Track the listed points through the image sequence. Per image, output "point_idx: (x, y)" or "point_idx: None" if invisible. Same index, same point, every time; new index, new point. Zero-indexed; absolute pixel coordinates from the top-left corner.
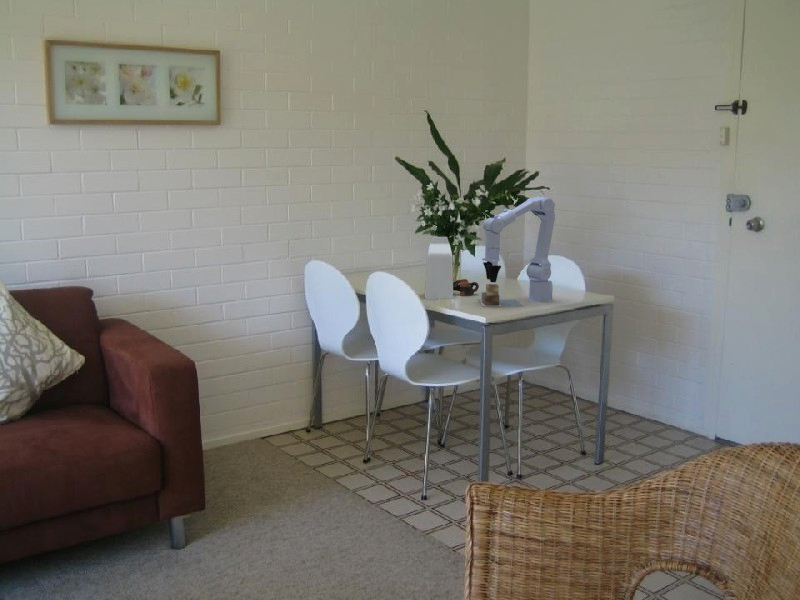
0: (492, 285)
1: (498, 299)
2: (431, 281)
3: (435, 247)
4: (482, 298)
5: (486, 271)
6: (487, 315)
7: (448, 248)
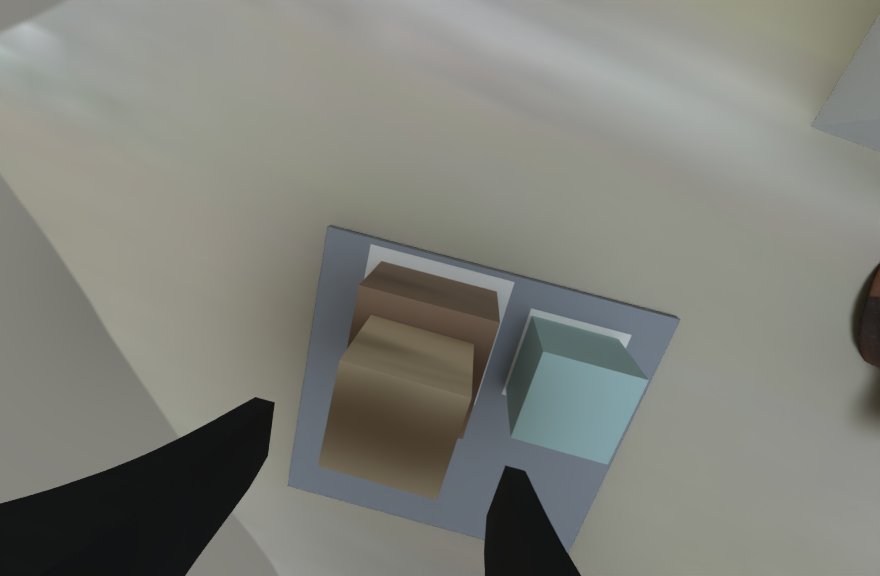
0: (361, 422)
1: None
2: None
3: None
4: (489, 302)
5: (528, 562)
6: (32, 122)
7: None
